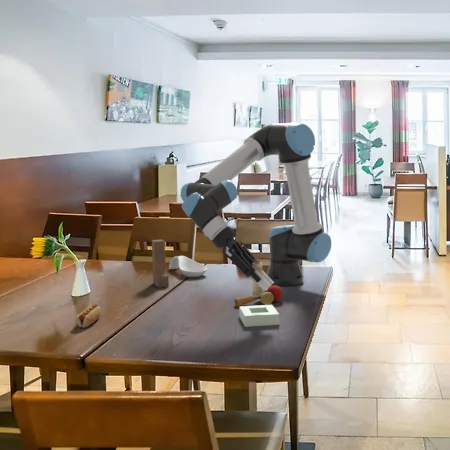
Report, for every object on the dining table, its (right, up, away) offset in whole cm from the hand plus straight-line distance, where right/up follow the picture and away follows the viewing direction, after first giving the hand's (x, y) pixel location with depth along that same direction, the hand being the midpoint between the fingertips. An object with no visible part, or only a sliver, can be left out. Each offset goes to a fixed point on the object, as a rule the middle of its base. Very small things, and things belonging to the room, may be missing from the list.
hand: (269, 286), depth 196 cm
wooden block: (-40, -5, +53) cm, 67 cm away
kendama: (-2, -9, +24) cm, 25 cm away
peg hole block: (-3, -11, +6) cm, 13 cm away
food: (-58, -13, +5) cm, 60 cm away
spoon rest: (-31, -2, +74) cm, 80 cm away
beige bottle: (-4, -3, +2) cm, 5 cm away
